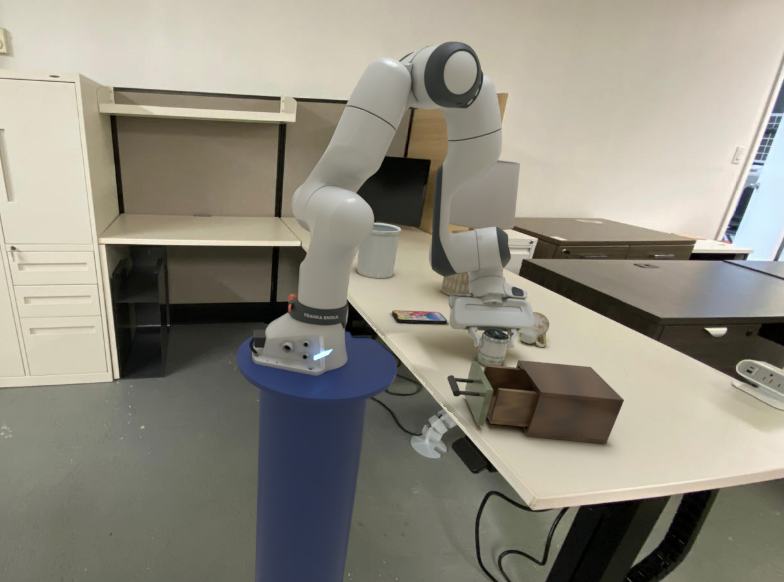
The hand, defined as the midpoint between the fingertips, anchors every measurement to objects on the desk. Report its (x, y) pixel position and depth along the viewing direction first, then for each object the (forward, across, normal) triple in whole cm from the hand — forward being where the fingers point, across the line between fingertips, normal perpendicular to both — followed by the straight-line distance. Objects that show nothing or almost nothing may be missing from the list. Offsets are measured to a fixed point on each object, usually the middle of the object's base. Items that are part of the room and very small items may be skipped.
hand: (494, 347), depth 111 cm
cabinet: (+20, +3, -14) cm, 25 cm away
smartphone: (-16, -11, +22) cm, 30 cm away
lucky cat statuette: (-8, +18, +14) cm, 24 cm away
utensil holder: (-48, -16, +54) cm, 74 cm away
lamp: (-33, +9, +40) cm, 53 cm away
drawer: (+18, -9, -13) cm, 24 cm away
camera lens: (+3, 0, +4) cm, 5 cm away
